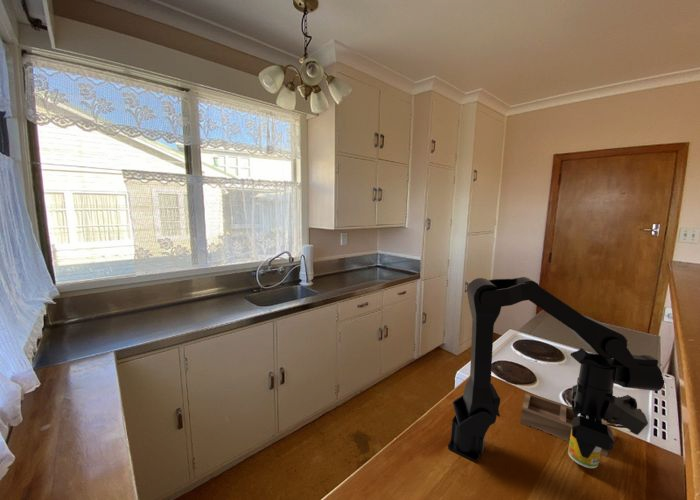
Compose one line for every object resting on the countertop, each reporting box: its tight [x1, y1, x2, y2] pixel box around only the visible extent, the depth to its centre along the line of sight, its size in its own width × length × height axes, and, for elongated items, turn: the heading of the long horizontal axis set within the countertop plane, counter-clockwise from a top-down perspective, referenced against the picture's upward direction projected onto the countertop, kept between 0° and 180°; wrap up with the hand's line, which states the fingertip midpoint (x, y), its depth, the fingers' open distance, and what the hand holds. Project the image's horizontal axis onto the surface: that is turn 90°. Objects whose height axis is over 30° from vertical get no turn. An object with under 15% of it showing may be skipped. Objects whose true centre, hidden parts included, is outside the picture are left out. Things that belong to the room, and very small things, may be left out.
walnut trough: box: [519, 391, 609, 457], centre depth 78 cm, size 9×18×4 cm, turn 54°
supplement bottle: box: [567, 413, 601, 469], centre depth 66 cm, size 5×5×10 cm
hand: (584, 448), depth 67 cm, fingers closed on supplement bottle, 5 cm apart
